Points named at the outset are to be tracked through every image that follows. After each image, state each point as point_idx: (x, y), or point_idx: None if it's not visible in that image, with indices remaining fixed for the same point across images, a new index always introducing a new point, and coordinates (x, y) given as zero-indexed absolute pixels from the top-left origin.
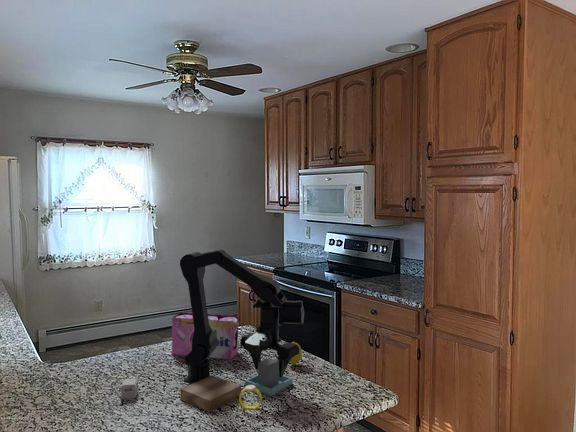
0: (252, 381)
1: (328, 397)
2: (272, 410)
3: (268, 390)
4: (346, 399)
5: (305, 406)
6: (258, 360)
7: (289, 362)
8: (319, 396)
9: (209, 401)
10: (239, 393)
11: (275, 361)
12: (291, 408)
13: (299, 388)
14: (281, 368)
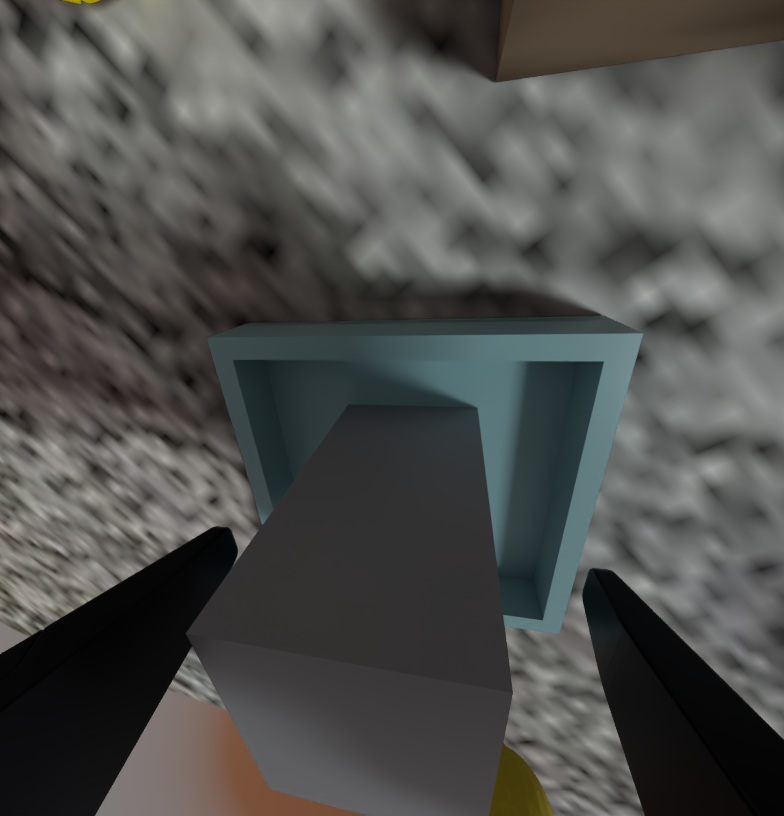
0: (570, 427)
1: (66, 515)
2: (15, 95)
3: (252, 333)
4: (18, 535)
5: (5, 357)
6: (649, 758)
7: (504, 748)
8: (94, 503)
9: None
10: (504, 6)
11: (273, 766)
12: (4, 265)
13: (236, 530)
14: (49, 625)
